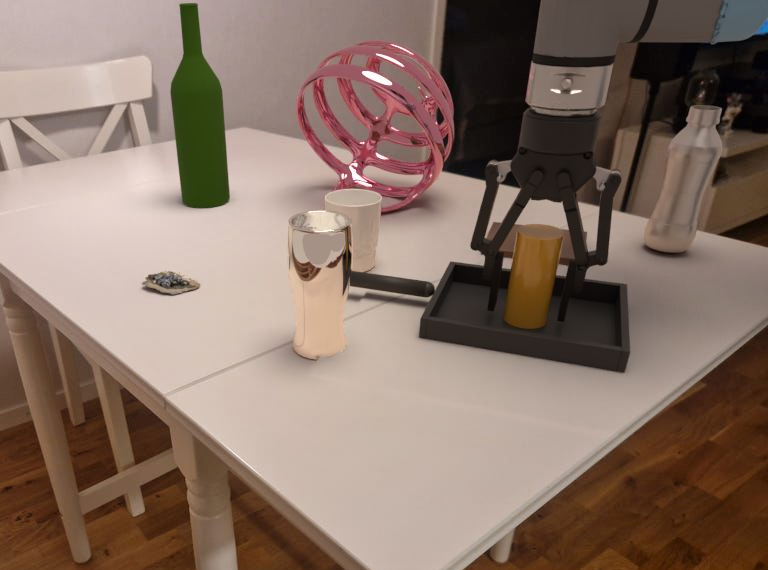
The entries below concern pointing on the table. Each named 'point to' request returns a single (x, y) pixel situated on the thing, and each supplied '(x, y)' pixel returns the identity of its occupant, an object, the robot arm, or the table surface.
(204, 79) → the wine bottle
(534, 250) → the canister
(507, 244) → the board
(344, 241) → the beer glass
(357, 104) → the spiral basket
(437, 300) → the pan
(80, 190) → the table surface
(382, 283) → the pan handle
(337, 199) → the white cup
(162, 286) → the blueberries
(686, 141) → the plastic bottle
